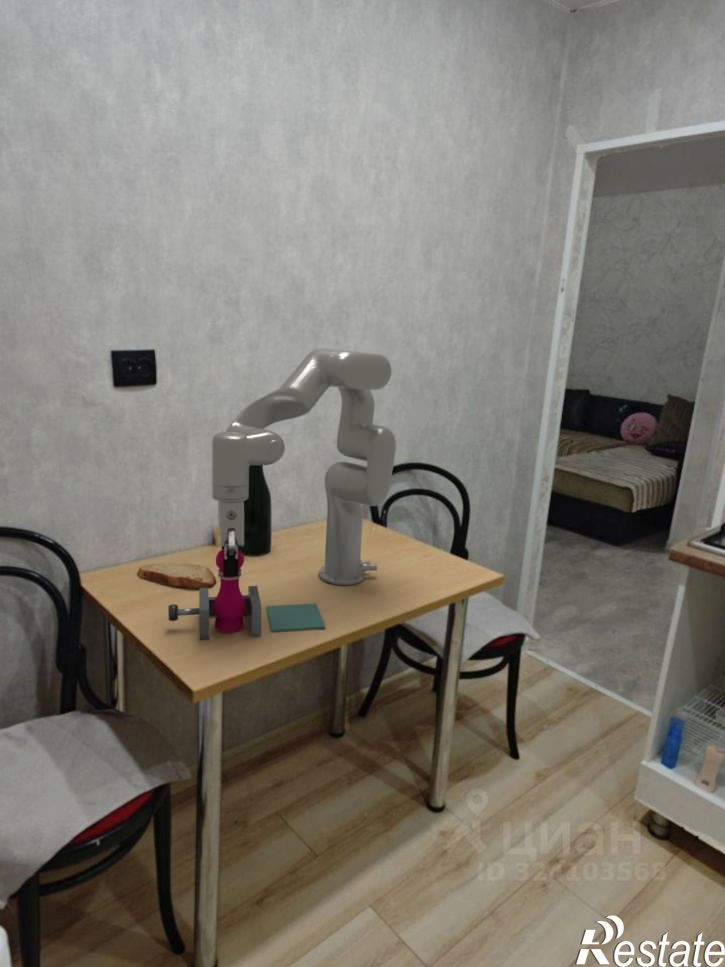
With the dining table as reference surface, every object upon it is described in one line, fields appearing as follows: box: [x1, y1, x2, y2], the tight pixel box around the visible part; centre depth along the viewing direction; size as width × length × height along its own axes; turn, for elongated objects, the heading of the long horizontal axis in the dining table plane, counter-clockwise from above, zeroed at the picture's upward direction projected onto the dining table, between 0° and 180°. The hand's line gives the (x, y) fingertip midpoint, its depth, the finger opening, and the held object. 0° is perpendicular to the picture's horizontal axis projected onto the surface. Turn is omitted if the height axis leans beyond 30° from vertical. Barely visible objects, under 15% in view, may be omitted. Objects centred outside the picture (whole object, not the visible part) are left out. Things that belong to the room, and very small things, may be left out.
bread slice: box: [135, 562, 217, 590], centre depth 166 cm, size 18×18×4 cm
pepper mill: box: [213, 542, 246, 634], centre depth 141 cm, size 7×7×20 cm
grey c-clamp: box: [167, 585, 262, 641], centre depth 143 cm, size 20×13×7 cm, turn 104°
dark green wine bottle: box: [235, 465, 273, 556], centre depth 186 cm, size 10×10×33 cm
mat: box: [265, 603, 326, 633], centre depth 149 cm, size 12×12×1 cm
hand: (229, 567), depth 140 cm, fingers open, 7 cm apart
